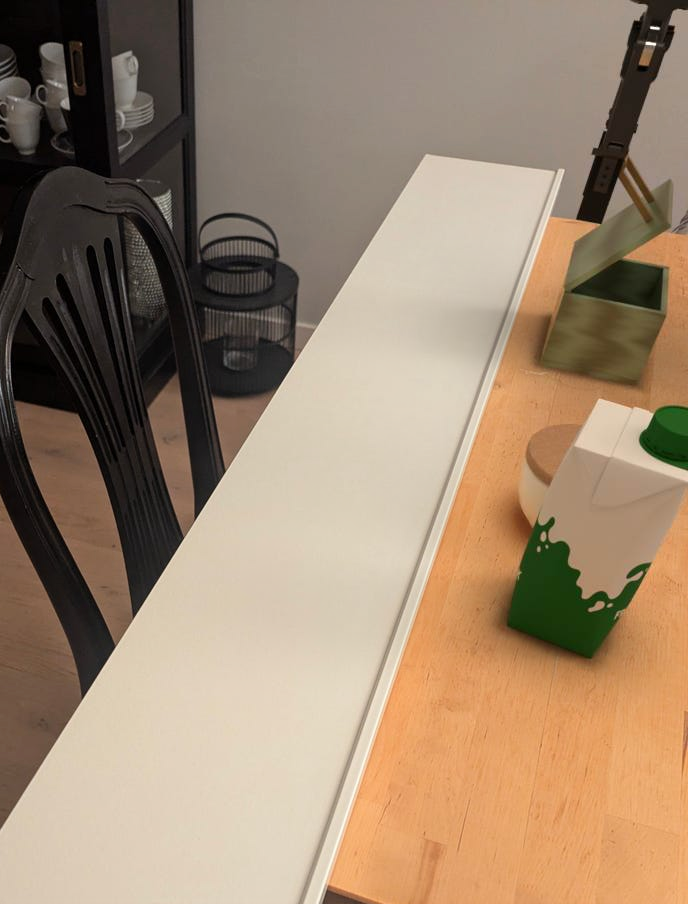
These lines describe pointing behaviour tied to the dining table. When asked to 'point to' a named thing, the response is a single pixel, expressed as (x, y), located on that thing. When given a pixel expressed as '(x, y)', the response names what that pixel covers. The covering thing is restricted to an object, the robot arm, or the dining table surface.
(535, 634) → the soya milk
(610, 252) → the lid
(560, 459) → the trinket box
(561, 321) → the chest
